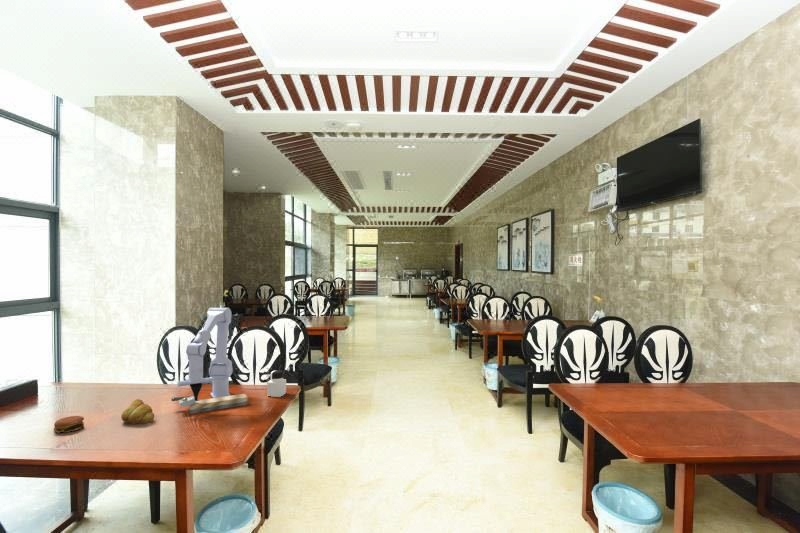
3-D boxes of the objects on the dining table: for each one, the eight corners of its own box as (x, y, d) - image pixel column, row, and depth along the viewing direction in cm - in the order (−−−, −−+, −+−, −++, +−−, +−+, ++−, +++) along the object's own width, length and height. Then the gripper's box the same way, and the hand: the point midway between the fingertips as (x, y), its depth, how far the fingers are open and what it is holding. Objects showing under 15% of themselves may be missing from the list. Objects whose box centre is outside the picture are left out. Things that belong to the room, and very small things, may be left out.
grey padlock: (286, 393, 215) (286, 369, 215) (281, 397, 208) (281, 372, 208) (272, 392, 215) (272, 369, 216) (267, 396, 208) (267, 372, 208)
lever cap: (179, 405, 186) (178, 398, 185) (194, 400, 189) (193, 394, 189) (180, 407, 182) (179, 401, 181) (195, 403, 185) (194, 397, 185)
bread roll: (160, 420, 175) (160, 400, 175) (138, 428, 166) (138, 407, 166) (138, 416, 180) (138, 397, 180) (116, 423, 171) (116, 403, 171)
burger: (50, 430, 164) (50, 418, 164) (79, 423, 171) (80, 412, 171) (57, 436, 158) (57, 424, 158) (87, 429, 165) (87, 417, 165)
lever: (197, 405, 192) (197, 394, 192) (197, 406, 191) (197, 395, 191) (171, 408, 188) (171, 397, 188) (171, 409, 186) (171, 398, 186)
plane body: (190, 413, 183) (190, 405, 183) (188, 409, 189) (188, 401, 189) (247, 404, 196) (247, 397, 196) (244, 400, 201) (244, 393, 202)
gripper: (178, 373, 180) (178, 405, 180) (215, 369, 188) (214, 400, 188) (176, 370, 186) (176, 401, 186) (212, 366, 194) (212, 396, 193)
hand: (195, 400), depth 187 cm, fingers closed
